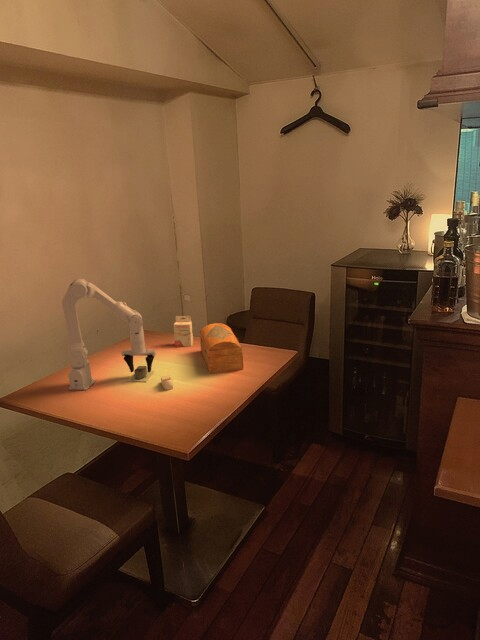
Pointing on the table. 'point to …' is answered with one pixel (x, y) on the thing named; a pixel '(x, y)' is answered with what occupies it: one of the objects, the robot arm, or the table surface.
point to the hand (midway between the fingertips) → (140, 371)
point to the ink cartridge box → (183, 331)
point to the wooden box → (220, 348)
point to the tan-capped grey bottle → (140, 372)
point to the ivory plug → (166, 382)
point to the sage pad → (141, 379)
